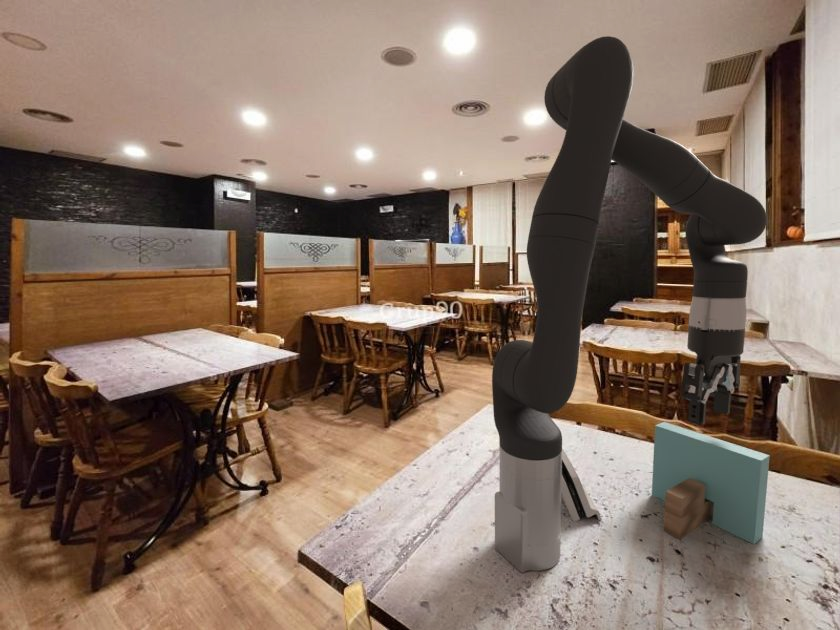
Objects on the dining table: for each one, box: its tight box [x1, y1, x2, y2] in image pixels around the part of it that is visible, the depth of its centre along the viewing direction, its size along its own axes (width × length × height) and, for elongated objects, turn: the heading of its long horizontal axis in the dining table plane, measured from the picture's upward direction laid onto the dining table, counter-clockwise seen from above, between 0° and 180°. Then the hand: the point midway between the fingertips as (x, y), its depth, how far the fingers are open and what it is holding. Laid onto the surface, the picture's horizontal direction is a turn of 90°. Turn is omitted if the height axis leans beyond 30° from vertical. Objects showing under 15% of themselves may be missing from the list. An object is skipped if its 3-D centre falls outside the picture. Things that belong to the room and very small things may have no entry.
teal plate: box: [651, 421, 770, 545], centre depth 69 cm, size 16×3×14 cm, turn 30°
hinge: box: [561, 447, 603, 522], centre depth 76 cm, size 17×5×10 cm, turn 176°
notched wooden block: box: [663, 478, 714, 540], centre depth 69 cm, size 20×2×7 cm, turn 120°
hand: (709, 418), depth 67 cm, fingers open, 8 cm apart
